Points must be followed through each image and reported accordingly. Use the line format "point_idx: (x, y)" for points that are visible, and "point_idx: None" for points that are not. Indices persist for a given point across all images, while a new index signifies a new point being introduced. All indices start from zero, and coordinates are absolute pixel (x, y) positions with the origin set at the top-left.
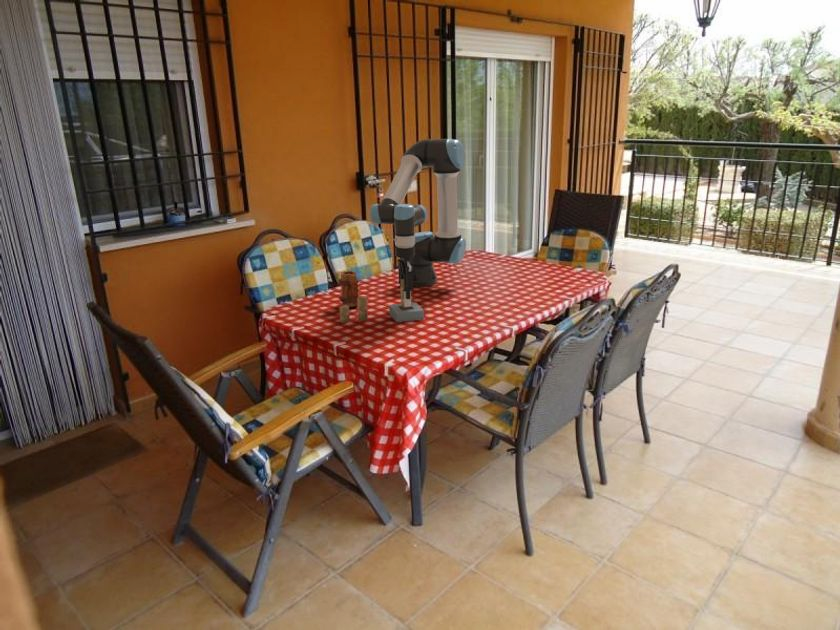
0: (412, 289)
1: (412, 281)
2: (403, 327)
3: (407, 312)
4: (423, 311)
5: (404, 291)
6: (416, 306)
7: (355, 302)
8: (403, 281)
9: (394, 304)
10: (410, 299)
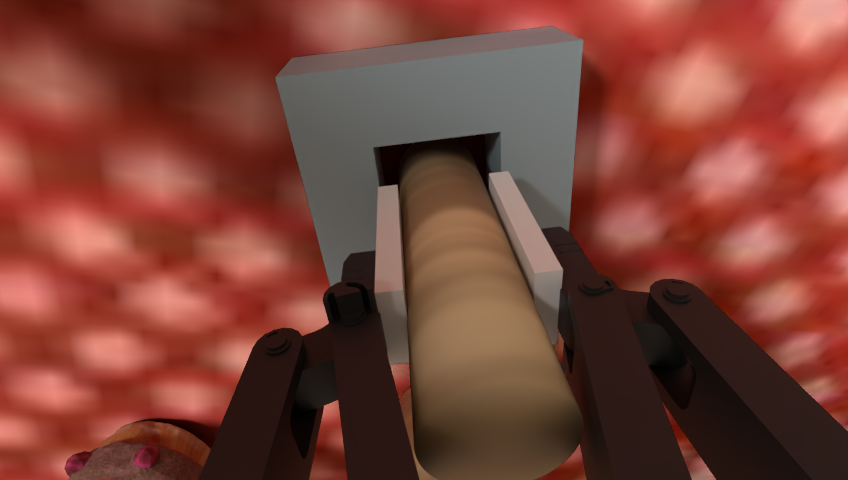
0: (696, 291)
1: (802, 397)
2: (658, 215)
3: (568, 202)
4: (578, 42)
5: (556, 336)
6: (432, 94)
7: (189, 456)
8: (555, 454)
9: (330, 275)
10: (527, 212)
